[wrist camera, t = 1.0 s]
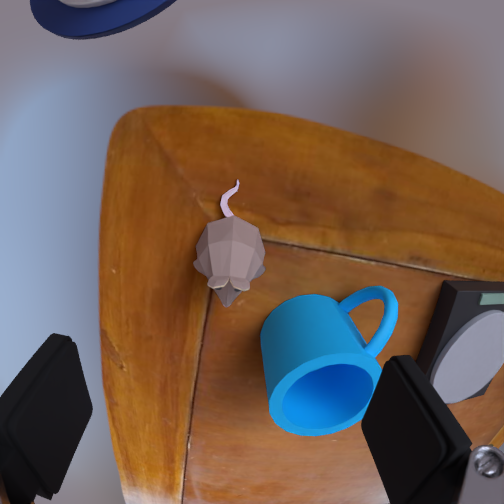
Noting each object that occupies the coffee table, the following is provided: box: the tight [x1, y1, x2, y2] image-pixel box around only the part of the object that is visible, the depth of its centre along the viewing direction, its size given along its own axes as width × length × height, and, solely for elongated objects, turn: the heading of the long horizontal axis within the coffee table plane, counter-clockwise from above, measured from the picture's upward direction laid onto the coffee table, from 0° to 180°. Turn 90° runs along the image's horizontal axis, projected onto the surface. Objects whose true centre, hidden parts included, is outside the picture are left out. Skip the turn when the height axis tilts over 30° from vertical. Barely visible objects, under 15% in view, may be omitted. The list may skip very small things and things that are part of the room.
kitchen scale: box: [416, 280, 504, 404], centre depth 27 cm, size 15×13×3 cm
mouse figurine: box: [193, 180, 266, 307], centre depth 21 cm, size 5×8×7 cm, turn 174°
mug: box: [260, 286, 398, 436], centre depth 23 cm, size 12×8×8 cm
